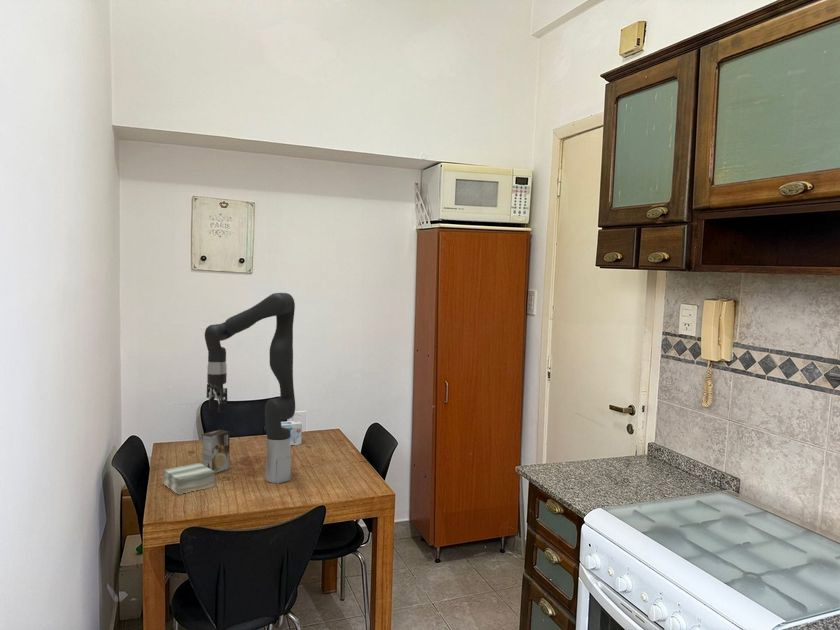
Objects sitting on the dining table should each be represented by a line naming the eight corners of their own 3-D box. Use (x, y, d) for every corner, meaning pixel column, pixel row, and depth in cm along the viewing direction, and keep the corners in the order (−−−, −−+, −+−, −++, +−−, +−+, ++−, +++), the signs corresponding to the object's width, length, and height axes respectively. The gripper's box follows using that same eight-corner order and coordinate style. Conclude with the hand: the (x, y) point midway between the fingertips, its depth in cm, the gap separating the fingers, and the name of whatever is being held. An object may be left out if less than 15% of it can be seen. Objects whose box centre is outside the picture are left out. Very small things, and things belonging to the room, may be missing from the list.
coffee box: (219, 465, 251) (220, 428, 250) (229, 468, 248) (230, 431, 246) (201, 471, 243) (202, 433, 242) (211, 474, 240) (212, 436, 239)
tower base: (214, 486, 226) (214, 471, 226) (178, 495, 216) (178, 479, 216) (199, 477, 236) (199, 462, 236) (163, 484, 226) (163, 469, 226)
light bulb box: (280, 447, 281) (280, 425, 280) (276, 443, 286) (277, 421, 286) (302, 444, 286) (302, 423, 285) (298, 441, 291) (298, 420, 291)
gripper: (233, 373, 240) (233, 412, 241) (217, 369, 250) (217, 406, 251) (216, 375, 235) (215, 415, 236) (200, 370, 245) (200, 408, 246)
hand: (216, 410), depth 244 cm, fingers open, 8 cm apart
